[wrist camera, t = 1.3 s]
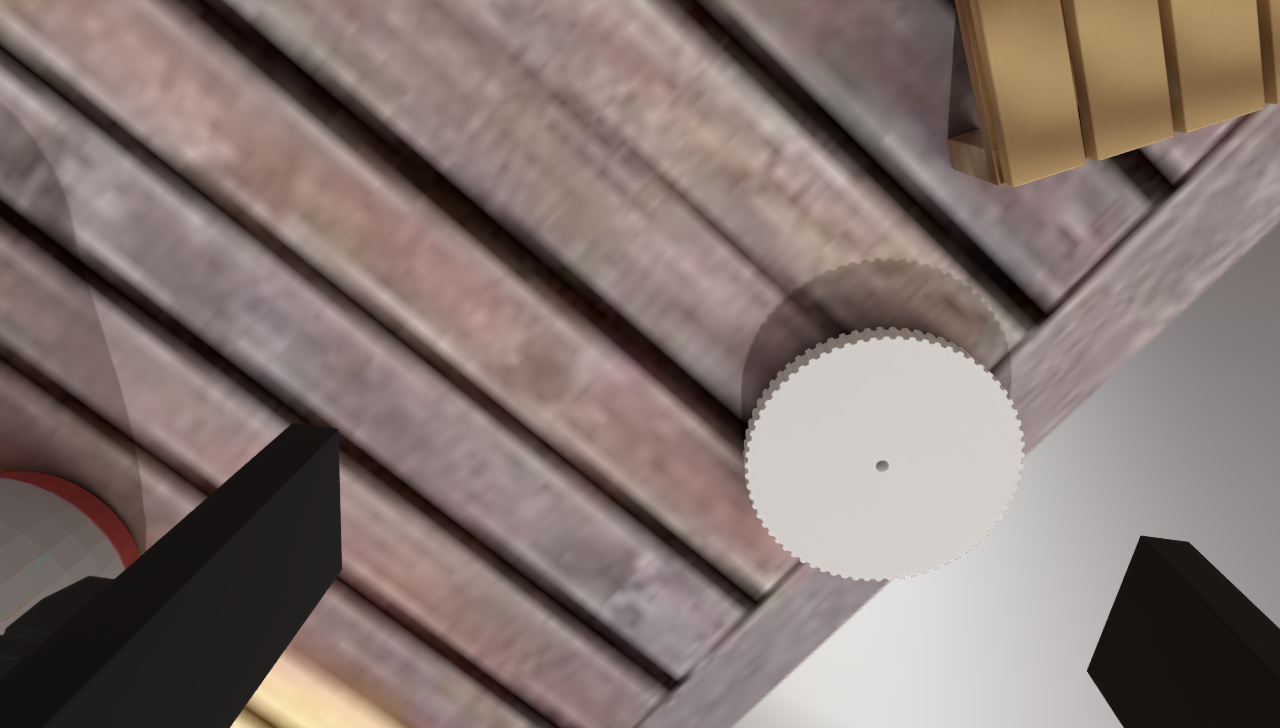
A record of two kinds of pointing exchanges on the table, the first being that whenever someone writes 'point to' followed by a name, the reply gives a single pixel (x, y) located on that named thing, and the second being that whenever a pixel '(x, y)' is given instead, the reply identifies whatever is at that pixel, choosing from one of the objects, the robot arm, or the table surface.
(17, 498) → the citrus juicer
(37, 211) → the table surface
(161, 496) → the table surface
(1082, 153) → the rack
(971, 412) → the plastic lid
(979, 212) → the table surface
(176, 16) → the table surface
